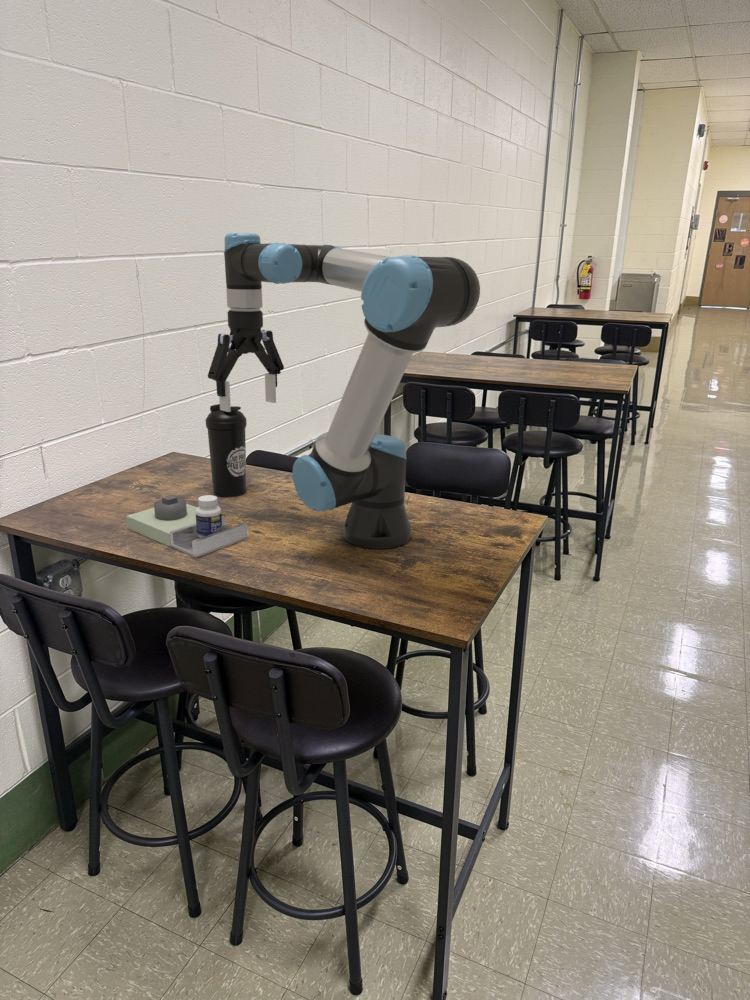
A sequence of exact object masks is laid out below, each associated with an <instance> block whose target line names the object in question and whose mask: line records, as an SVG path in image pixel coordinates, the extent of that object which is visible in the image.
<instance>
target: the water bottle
mask: <svg viewBox="0 0 750 1000" xmlns="http://www.w3.org/2000/svg"><path fill="white" fill-rule="evenodd" d="M241 409H242V407H241V406H239V405H238V406H232V405H231V411H230V412H226V411H222V410H220V403H217V404H212V405H211V406H210V407H209V410H210V413H208V414H207V417H206V418H205V427H206V429H207V437H208V448H209V458H210V459H209V460H210V461H209V462H210V467H211V468H210V471H211V472H210V473H211V480H212V491H213V496H216V497H220V498H236V497H240V496H244V495H245V494H246V493H247V466H246V465H247V460H246V459H247V447H246V428H247V417H245V414H244V413H243V412H241Z"/></svg>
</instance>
